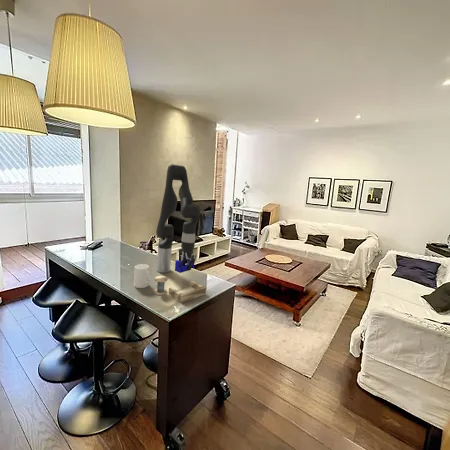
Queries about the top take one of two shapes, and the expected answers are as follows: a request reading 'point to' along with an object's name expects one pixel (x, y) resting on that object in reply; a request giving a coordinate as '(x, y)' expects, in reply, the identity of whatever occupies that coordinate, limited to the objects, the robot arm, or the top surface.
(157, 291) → the bobbin
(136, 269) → the mug
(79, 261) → the top surface
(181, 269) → the cable clip
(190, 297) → the notched board
